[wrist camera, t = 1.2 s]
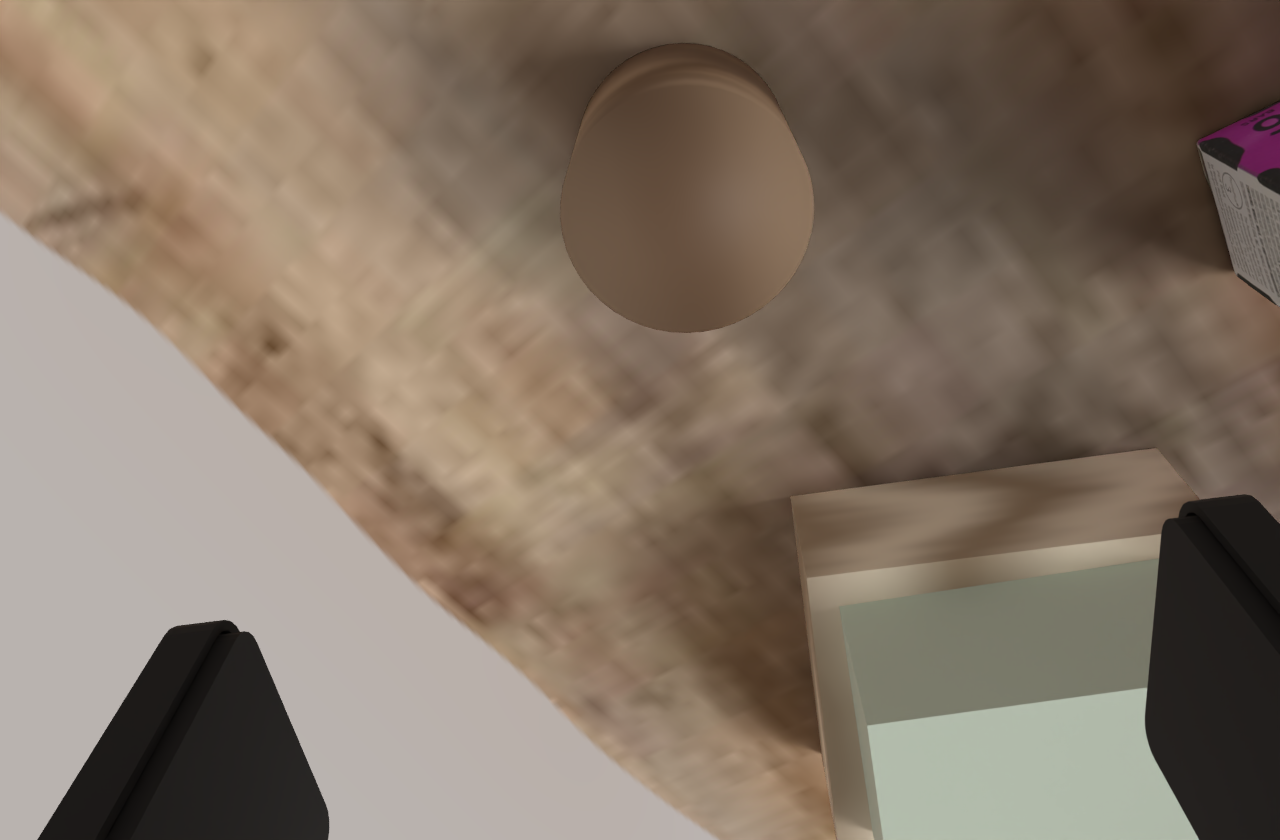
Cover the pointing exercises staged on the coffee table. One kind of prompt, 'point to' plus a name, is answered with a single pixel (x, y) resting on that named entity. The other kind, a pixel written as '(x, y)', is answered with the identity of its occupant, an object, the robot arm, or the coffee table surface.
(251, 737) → the robot arm
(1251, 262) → the candy bar box
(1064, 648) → the tower top
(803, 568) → the tower base
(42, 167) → the coffee table surface
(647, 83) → the walnut cylinder
